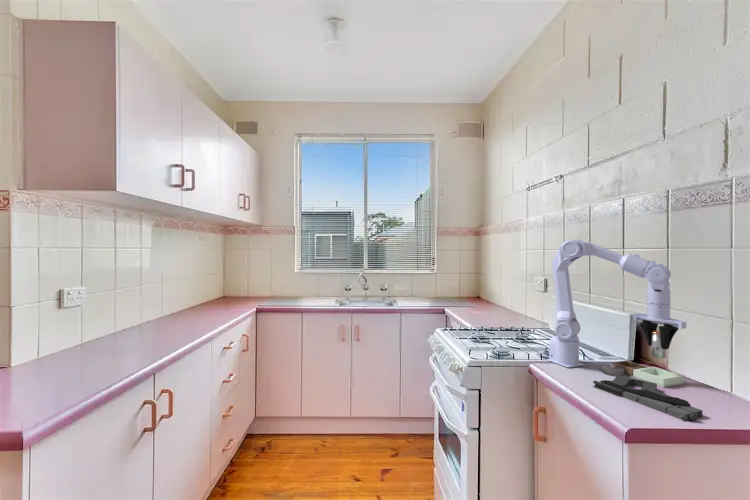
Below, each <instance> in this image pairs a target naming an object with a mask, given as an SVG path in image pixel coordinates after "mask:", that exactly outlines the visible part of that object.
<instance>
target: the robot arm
mask: <svg viewBox="0 0 750 500" xmlns="http://www.w3.org/2000/svg"><path fill="white" fill-rule="evenodd" d="M583 256H584V257H586V256H595V257H598V258H601V259H603V260H606V261H608V262H611V263H615V264H618V265H619V267H620V269H621V270H622V271H624V272H627V273H629V274H632V275H634V276H636V277H639V278H642V279H644V278H646V279H647V286H648V287H647V291H646V292H647V295H646V298H647V299H646V301H647V303H646V306H647V307H646V312H647V313H646V314H643V313H634V314H633V320H634V321H641V322H639V327H640V328H641V329H642V331H643V333H644V336H645V338H646V342H647V346H649V347H651V337H652V331H660V333H661V346H662V349H666V350H669V349H670V345H671V343H672V340H673V338H674V336H675V335H676V333H677V332H678V331H679V329H681V330H682V329H687V321H684V320H679V319H676V318H671V288H670V287H671V284H670V278H671V275H672V272H671V270H670V268H669V267H668V266H666V265H664V264H662V263H657V262H656V260H649V259H645V258H644V257H640V254H638V253H634V254H632V253H627V254H625V255H623V254H620V253H618V252H616V251H613V250H611V249H608V248H605V247H603V246H600V245H598V244H595V243H593V242H588V241H583V240H580V239H575V240H574V239H567V240H565V241H564V242H562V243H561V244H560V245H559V246H558V247H557V251H556V253H555V256H554V258H553V260H552V262H551V265H552V266H551V268H552V275H553V284H554V293H555V300H556V301H555V302H556V309H557V315H556V317H555V322H556V323H555V326H554V333H555V336H552V337H550V341H549V345H548V346H549V349H548V350H549V352H548V353H549V358H547V361H549V362H552V363H554V364H557V365H560V366H562V367H564V368H569V369H570V368H575V367H582V366H583V367H584V366H586V364H585V363H583V362H580V337H579V336H578V334H579V333H580V331H581V324H580V322H579V321H578V320H577V315H576V313H575V311H574V304H573V297H572V296H573V294H572V288H571V287H572V286H571V280H570V273H569V267H570V266H571V265H572V263H574V262H575V261H576V260H578V259H580V258H582V257H583Z"/></svg>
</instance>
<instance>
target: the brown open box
mask: <svg viewBox="0 0 750 500" xmlns="http://www.w3.org/2000/svg"><path fill="white" fill-rule="evenodd" d="M647 367H648V366H646V365H643V364H640V363H636V362H634V361H631V360H621V361H615V362H614V361H613V362H611V363H610V364H603V365H602V373H603V374H605V375H607V376H612V377H616V376H618V375H619V376H624V377H625V375H629V376H630V377H631V376H633V370H634V369H641V368H647Z"/></svg>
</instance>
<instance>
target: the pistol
mask: <svg viewBox="0 0 750 500" xmlns="http://www.w3.org/2000/svg"><path fill="white" fill-rule="evenodd" d="M592 383H593V384H594V385H593V386H592V387H593V388H595V389H597V390H600V391H603V392H604V393H605V392H606V393H608V394H610V395H613V396H616V397H619V398H624V399H626V400H629V401H632V402H634V403H638V404H640V405H643V406H645V407H647V408H650V409H653V410H656V411H658V412H660V413H662V414H665V415H668V416H671V417H673V418H675V419H679V420H681V421H683V422H687V421H691V422H696V420H697V419H699V418H702V417H703V409H701V408H700V409H699V408H697V407H694V406H691V403H690V402H689V401H688V400H686V399H683V398H680V397H675V396H671V395H668V394H666V393H663V392H660V391H657V389H658V387H657V385H656V383H652V382H647V381H643V380H639V379H636V378H633V377H628V376H625V375H624V376H619V375H618V376H615V378H614V379H613V380H606V379H605V380H600V381H597V380H593V381H592ZM630 386H634V387H637V388H631V387H630Z"/></svg>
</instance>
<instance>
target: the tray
mask: <svg viewBox="0 0 750 500" xmlns="http://www.w3.org/2000/svg"><path fill="white" fill-rule="evenodd" d="M632 376H633V377H632V378H634V379H638V380H643V381H647V382H652V383H656V385H657V386H658V387H659V388H668V387H673V386H674V387H675V386H679V385H684V384H685V374H680V373H677V372H673V371H669V370H668V369H667V370H666V369H663V368H661V367H656V366H649V367H648V366H647V368H641V369H634V370H633V375H632Z"/></svg>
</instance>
